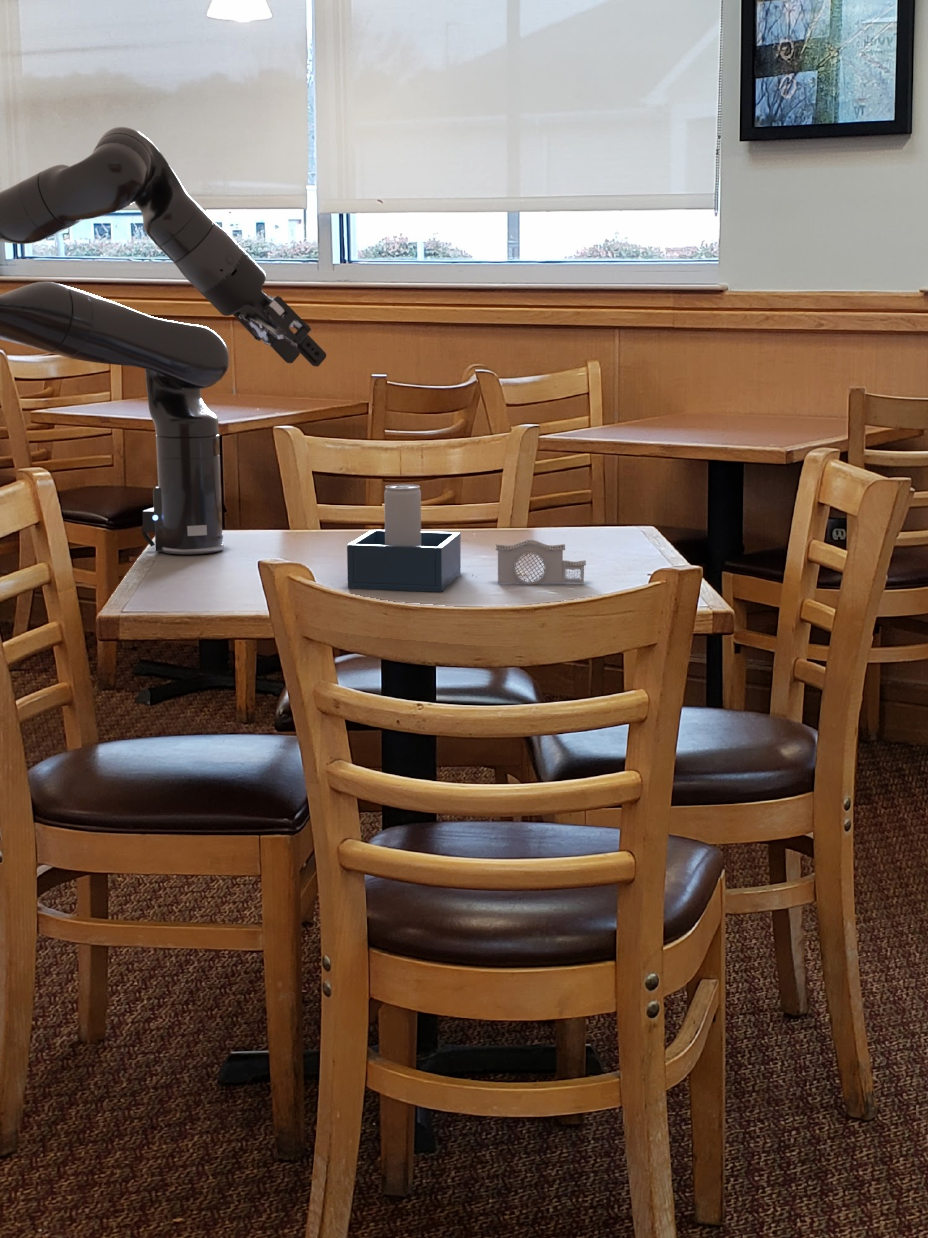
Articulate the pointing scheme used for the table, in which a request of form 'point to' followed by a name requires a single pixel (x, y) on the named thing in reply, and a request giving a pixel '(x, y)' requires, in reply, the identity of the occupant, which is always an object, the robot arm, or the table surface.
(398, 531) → the beverage can
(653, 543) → the table surface
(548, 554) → the garden wall model
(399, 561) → the bin
